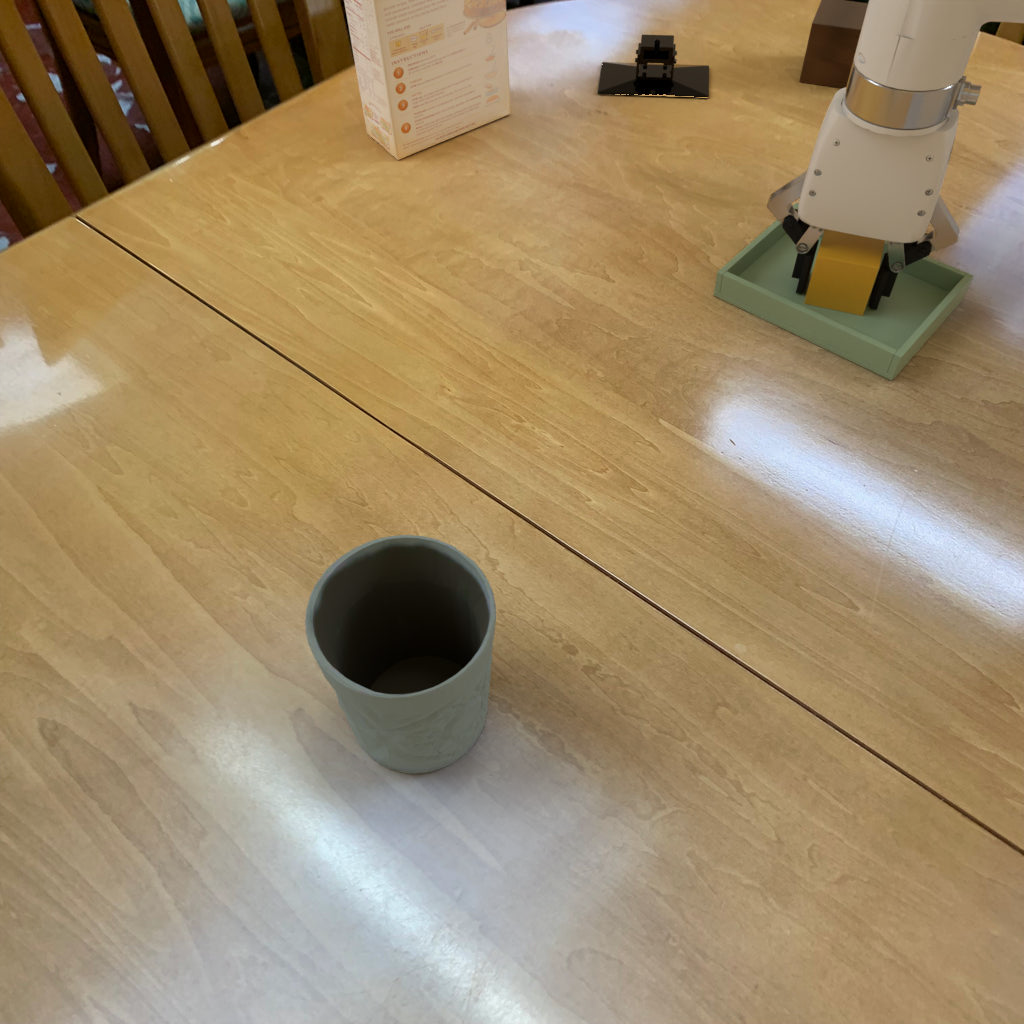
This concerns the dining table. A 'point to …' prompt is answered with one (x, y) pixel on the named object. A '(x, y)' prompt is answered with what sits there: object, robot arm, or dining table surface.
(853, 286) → the top block
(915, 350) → the tray
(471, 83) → the coffeecake box
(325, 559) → the dining table surface
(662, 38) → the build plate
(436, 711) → the grey green cup
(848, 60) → the base block
